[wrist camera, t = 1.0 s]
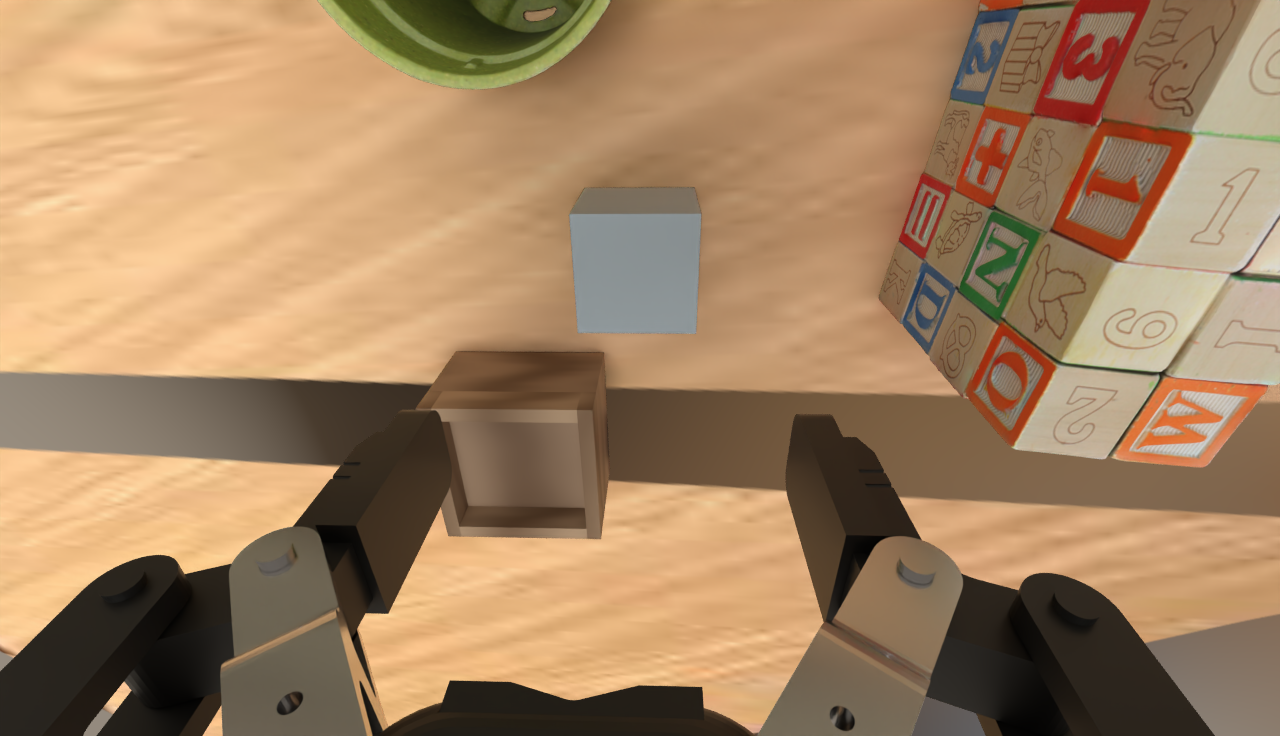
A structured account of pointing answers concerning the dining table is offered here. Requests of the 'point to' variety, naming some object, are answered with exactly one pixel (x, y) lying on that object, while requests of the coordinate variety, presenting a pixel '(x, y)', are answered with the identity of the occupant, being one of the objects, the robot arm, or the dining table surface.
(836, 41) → the dining table surface
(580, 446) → the walnut base
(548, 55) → the plant pot
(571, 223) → the bluegrey cube
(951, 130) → the stack of blocks
